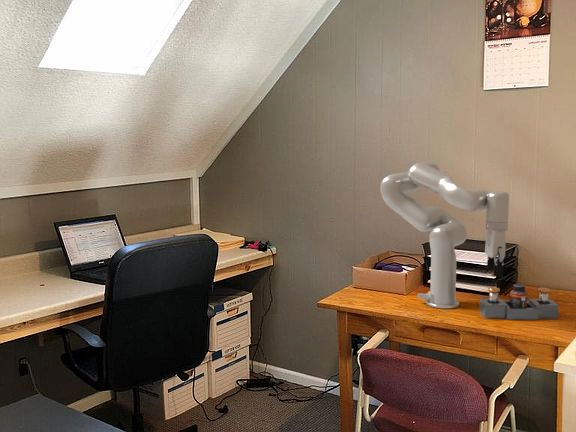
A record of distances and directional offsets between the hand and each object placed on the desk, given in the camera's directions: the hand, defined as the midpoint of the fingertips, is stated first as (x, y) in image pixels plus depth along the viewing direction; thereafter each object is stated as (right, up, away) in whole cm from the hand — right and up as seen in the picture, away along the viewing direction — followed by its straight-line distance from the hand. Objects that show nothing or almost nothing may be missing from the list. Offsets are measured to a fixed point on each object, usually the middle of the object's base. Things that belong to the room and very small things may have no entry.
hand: (494, 272), depth 227 cm
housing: (+9, -16, +2) cm, 18 cm away
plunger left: (0, -12, +2) cm, 13 cm away
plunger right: (+18, -12, +1) cm, 22 cm away
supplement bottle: (+9, -16, +2) cm, 19 cm away
